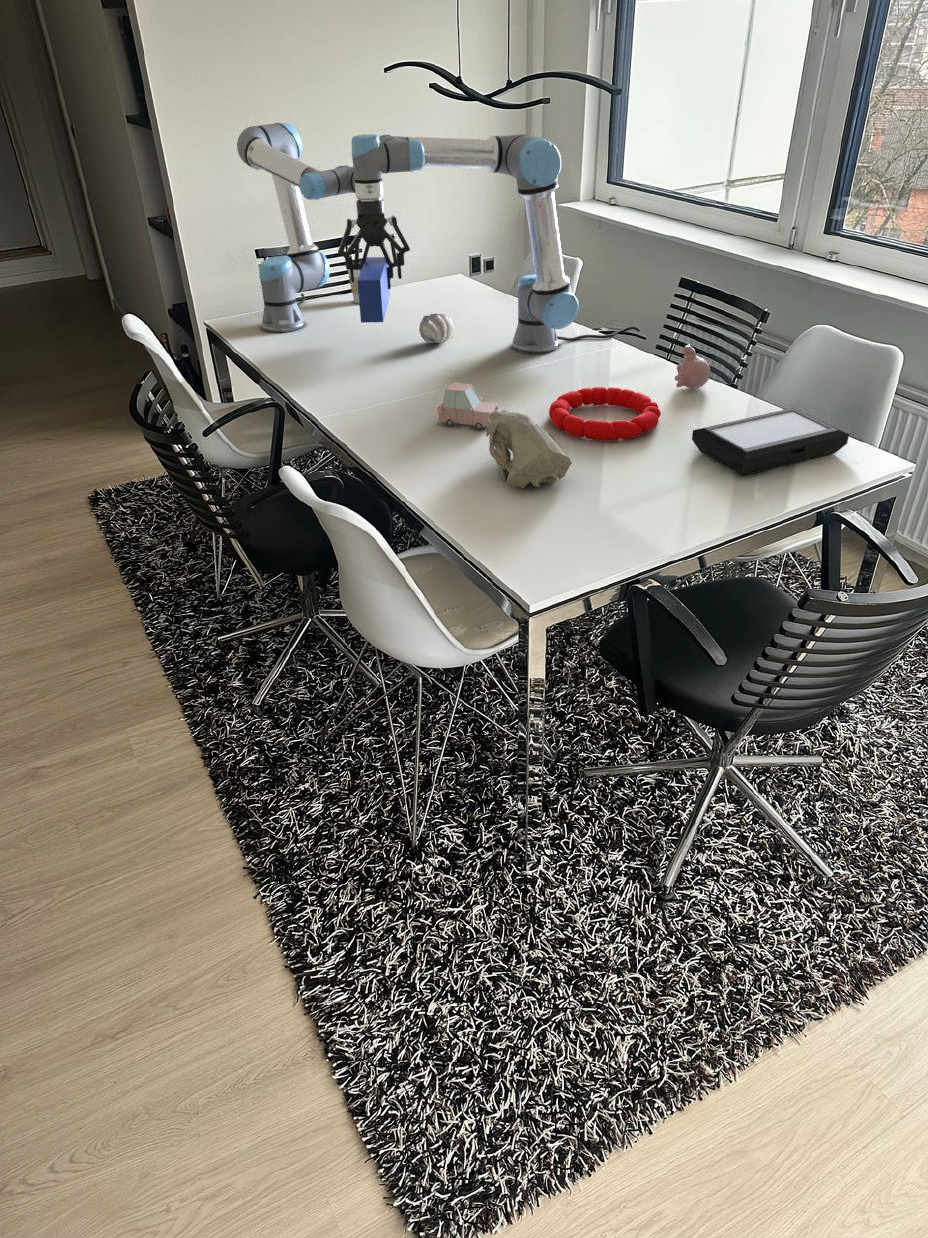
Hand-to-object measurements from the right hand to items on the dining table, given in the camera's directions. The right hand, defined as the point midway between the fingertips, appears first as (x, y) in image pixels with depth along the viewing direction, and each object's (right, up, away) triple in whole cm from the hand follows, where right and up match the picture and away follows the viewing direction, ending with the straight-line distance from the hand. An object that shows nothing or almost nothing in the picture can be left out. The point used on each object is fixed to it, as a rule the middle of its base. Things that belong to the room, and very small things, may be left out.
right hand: (376, 279), depth 256 cm
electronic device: (+102, -56, -31) cm, 120 cm away
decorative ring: (+64, -44, -12) cm, 78 cm away
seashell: (+16, -3, +49) cm, 52 cm away
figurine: (+92, -30, +7) cm, 97 cm away
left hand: (-4, +15, +46) cm, 49 cm away
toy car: (+26, -44, -10) cm, 52 cm away
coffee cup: (-15, +28, +95) cm, 100 cm away
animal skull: (+39, -61, -36) cm, 81 cm away
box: (-4, +5, +39) cm, 39 cm away
